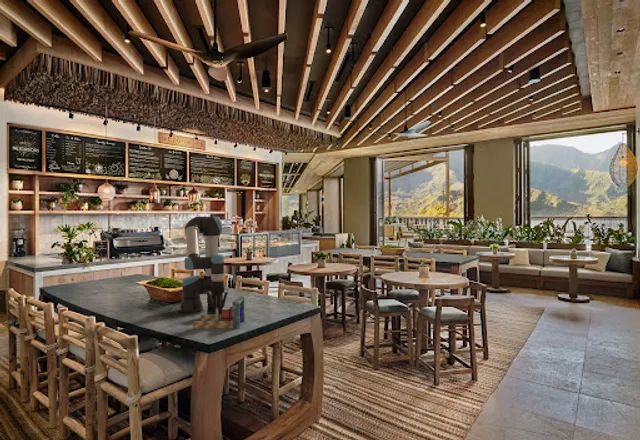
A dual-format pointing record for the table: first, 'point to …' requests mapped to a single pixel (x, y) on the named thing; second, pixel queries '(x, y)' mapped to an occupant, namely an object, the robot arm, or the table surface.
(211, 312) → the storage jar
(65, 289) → the table surface
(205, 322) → the channel
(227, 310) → the puzzle cube
